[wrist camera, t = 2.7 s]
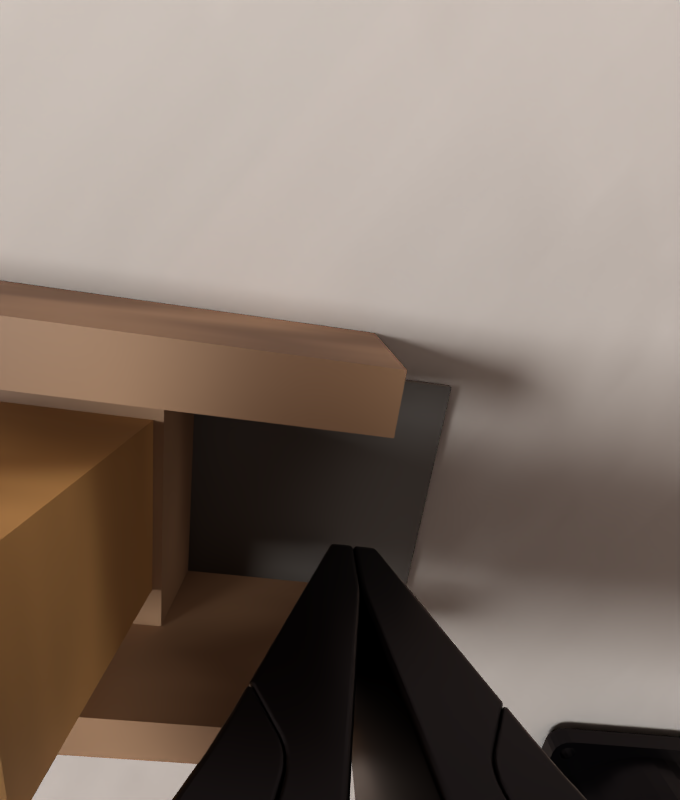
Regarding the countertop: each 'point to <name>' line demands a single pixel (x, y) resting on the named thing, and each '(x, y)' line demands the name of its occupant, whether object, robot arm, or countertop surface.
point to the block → (65, 570)
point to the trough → (225, 484)
